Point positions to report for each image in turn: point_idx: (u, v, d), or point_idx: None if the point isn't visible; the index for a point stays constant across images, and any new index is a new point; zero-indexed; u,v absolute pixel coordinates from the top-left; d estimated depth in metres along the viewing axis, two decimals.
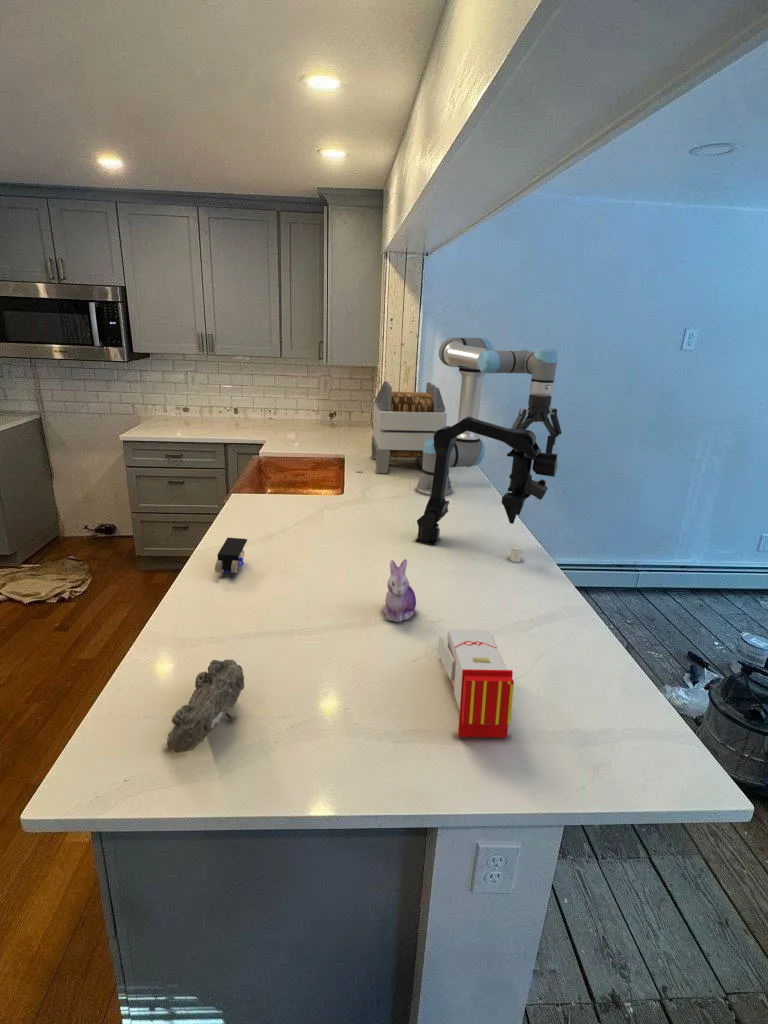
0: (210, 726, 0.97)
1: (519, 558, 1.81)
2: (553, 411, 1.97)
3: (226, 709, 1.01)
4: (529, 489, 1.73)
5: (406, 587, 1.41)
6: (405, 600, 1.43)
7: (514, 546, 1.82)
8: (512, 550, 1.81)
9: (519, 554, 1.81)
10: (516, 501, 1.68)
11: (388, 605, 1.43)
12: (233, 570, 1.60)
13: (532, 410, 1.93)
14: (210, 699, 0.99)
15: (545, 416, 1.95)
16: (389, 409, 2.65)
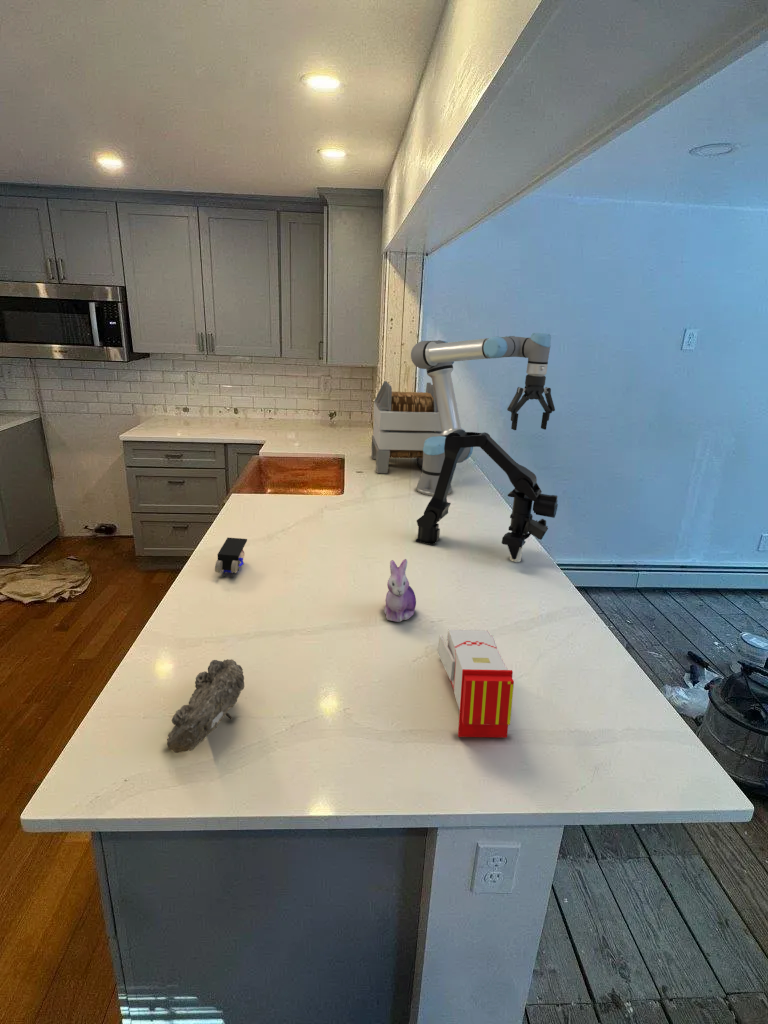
0: (210, 726, 0.97)
1: (519, 558, 1.81)
2: (547, 390, 2.22)
3: (226, 709, 1.01)
4: (529, 529, 1.75)
5: (406, 587, 1.41)
6: (405, 600, 1.43)
7: None
8: None
9: (519, 554, 1.81)
10: (516, 542, 1.71)
11: (388, 605, 1.43)
12: (233, 570, 1.60)
13: (528, 389, 2.19)
14: (210, 699, 0.99)
15: (540, 394, 2.20)
16: (389, 409, 2.65)
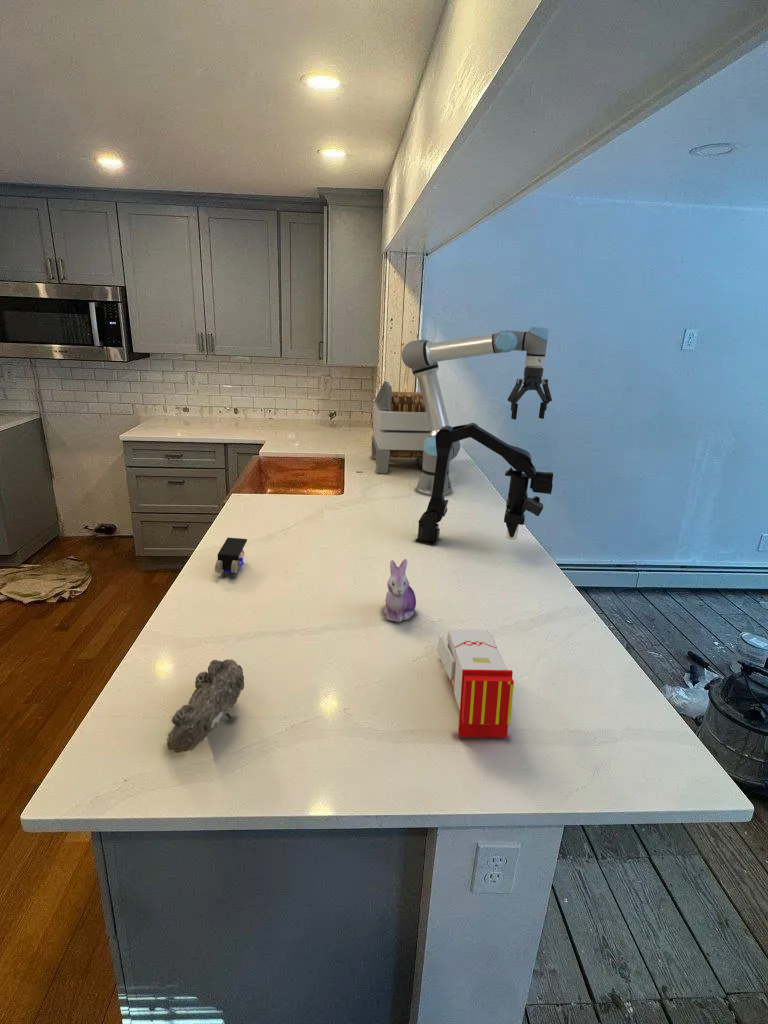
0: (210, 726, 0.97)
1: (516, 536, 1.86)
2: (545, 381, 2.34)
3: (226, 709, 1.01)
4: (527, 507, 1.80)
5: (406, 587, 1.41)
6: (405, 600, 1.43)
7: None
8: None
9: (516, 532, 1.85)
10: (518, 519, 1.75)
11: (388, 605, 1.43)
12: (233, 570, 1.60)
13: (527, 380, 2.31)
14: (210, 699, 0.99)
15: (538, 385, 2.32)
16: (389, 409, 2.65)
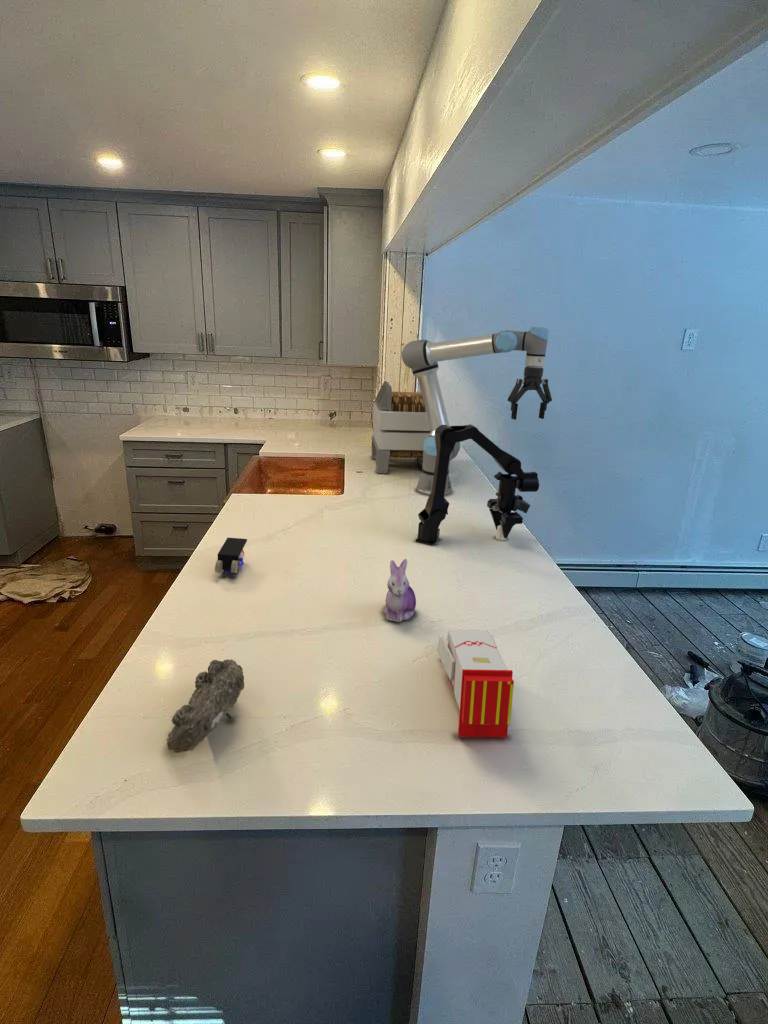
0: (210, 726, 0.97)
1: None
2: (545, 381, 2.34)
3: (226, 709, 1.01)
4: (518, 506, 1.94)
5: (406, 587, 1.41)
6: (405, 600, 1.43)
7: (500, 526, 1.98)
8: (500, 530, 1.97)
9: None
10: (518, 519, 1.88)
11: (388, 605, 1.43)
12: (233, 570, 1.60)
13: (527, 380, 2.31)
14: (210, 699, 0.99)
15: (538, 385, 2.32)
16: (389, 409, 2.65)
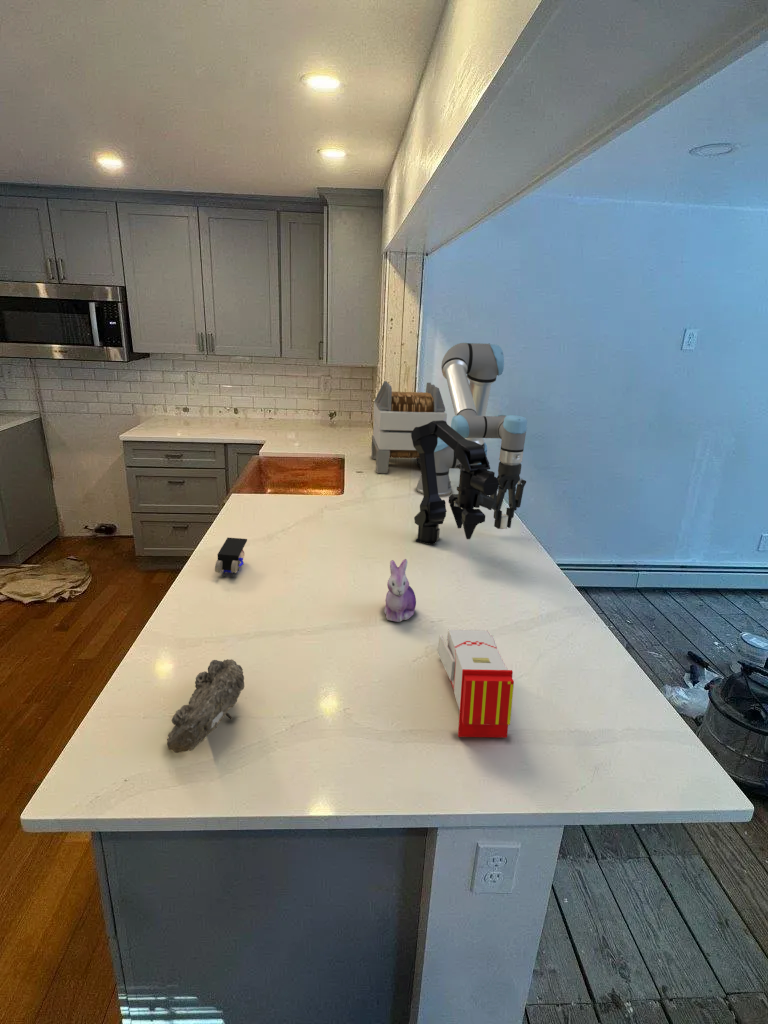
0: (210, 726, 0.97)
1: None
2: (522, 482, 1.94)
3: (226, 709, 1.01)
4: (481, 502, 1.71)
5: (406, 587, 1.41)
6: (405, 600, 1.43)
7: None
8: (501, 519, 1.96)
9: (507, 521, 1.97)
10: (480, 517, 1.65)
11: (388, 605, 1.43)
12: (233, 570, 1.60)
13: (501, 479, 1.90)
14: (210, 699, 0.99)
15: (515, 484, 1.92)
16: (389, 409, 2.65)
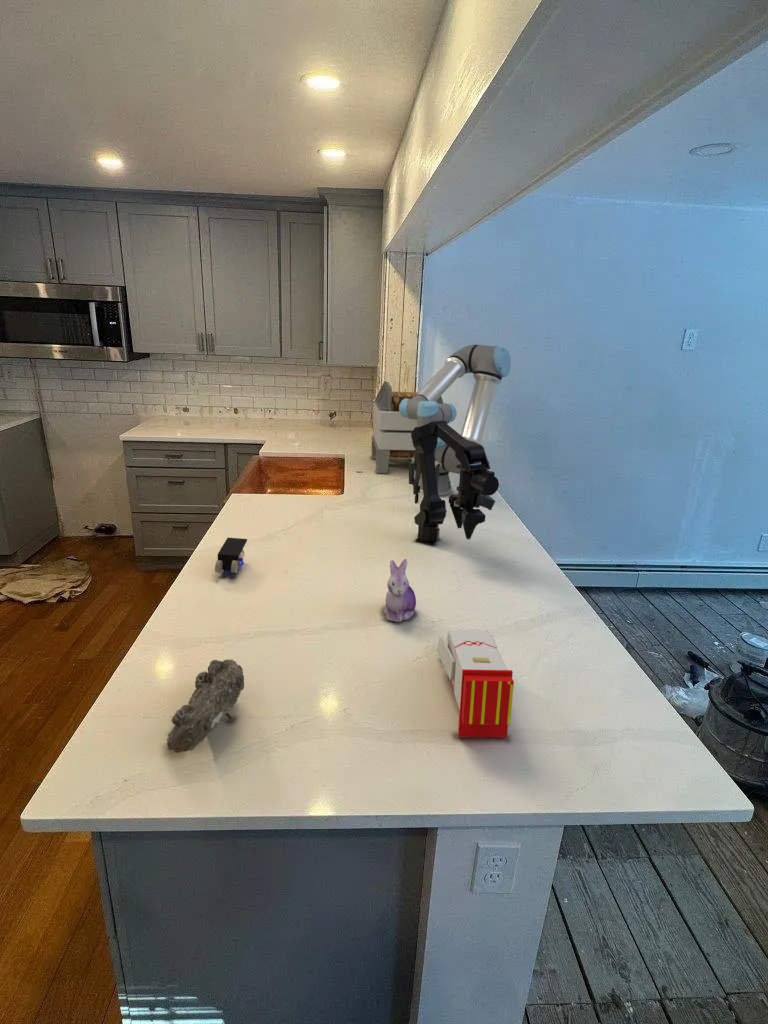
0: (210, 726, 0.97)
1: None
2: (436, 465, 2.09)
3: (226, 709, 1.01)
4: (481, 502, 1.71)
5: (406, 587, 1.41)
6: (405, 600, 1.43)
7: (421, 492, 2.17)
8: (418, 495, 2.16)
9: None
10: (480, 517, 1.65)
11: (388, 605, 1.43)
12: (233, 570, 1.60)
13: (415, 457, 2.12)
14: (210, 699, 0.99)
15: None
16: (389, 409, 2.65)
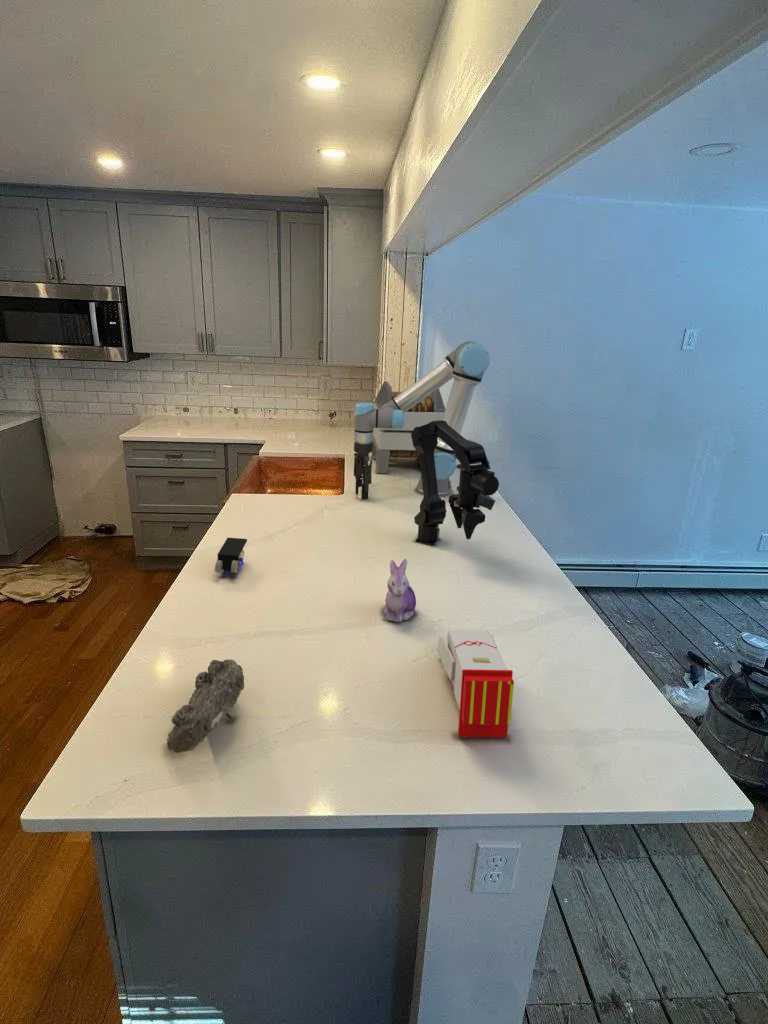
0: (210, 726, 0.97)
1: (360, 496, 2.34)
2: None
3: (226, 709, 1.01)
4: (481, 502, 1.71)
5: (406, 587, 1.41)
6: (405, 600, 1.43)
7: None
8: None
9: (360, 493, 2.33)
10: (480, 517, 1.65)
11: (388, 605, 1.43)
12: (233, 570, 1.60)
13: (357, 453, 2.32)
14: (210, 699, 0.99)
15: (360, 461, 2.28)
16: None
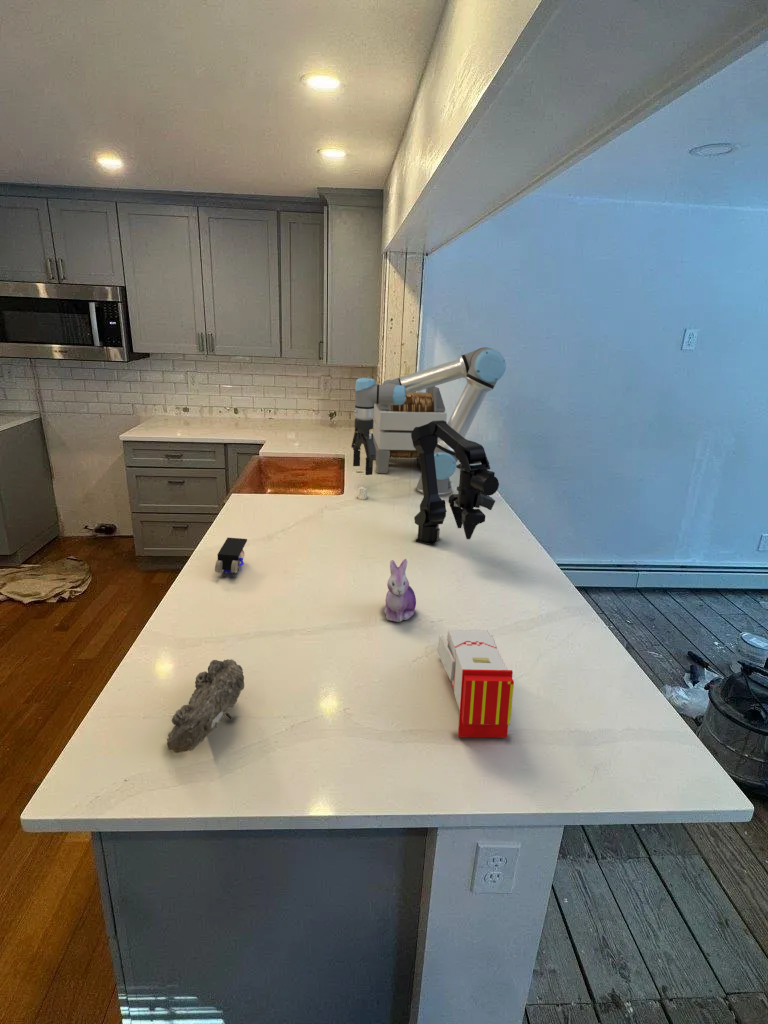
0: (210, 726, 0.97)
1: (360, 496, 2.34)
2: None
3: (226, 709, 1.01)
4: (481, 502, 1.71)
5: (406, 587, 1.41)
6: (405, 600, 1.43)
7: (362, 487, 2.35)
8: None
9: (360, 493, 2.33)
10: (480, 517, 1.65)
11: (388, 605, 1.43)
12: (233, 570, 1.60)
13: (358, 430, 2.28)
14: (210, 699, 0.99)
15: (361, 437, 2.24)
16: (389, 409, 2.65)
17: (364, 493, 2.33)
